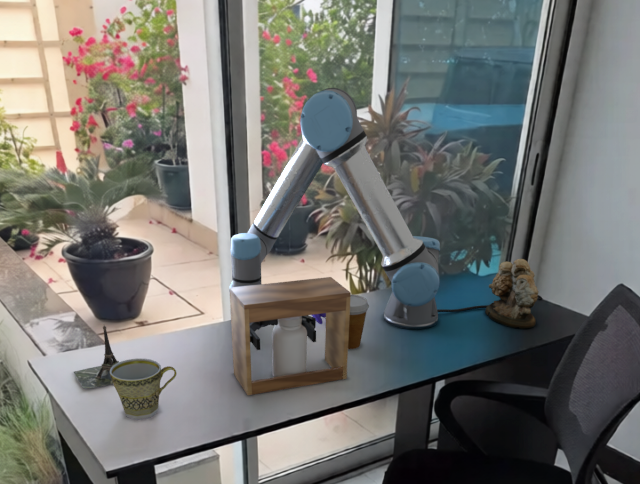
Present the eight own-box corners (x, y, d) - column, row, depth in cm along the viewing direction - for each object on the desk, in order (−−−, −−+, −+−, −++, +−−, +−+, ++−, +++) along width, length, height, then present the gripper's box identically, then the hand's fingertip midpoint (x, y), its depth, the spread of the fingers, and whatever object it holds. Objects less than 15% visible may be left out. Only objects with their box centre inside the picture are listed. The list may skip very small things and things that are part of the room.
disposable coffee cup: (347, 334, 175) (349, 291, 169) (373, 345, 170) (377, 301, 163) (322, 343, 170) (323, 299, 163) (348, 355, 164) (350, 310, 158)
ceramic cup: (120, 427, 131) (113, 383, 126) (113, 404, 139) (106, 362, 134) (184, 416, 136) (180, 373, 130) (174, 395, 143) (170, 353, 138)
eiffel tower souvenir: (138, 360, 157) (131, 307, 150) (151, 377, 150) (144, 323, 143) (73, 373, 151) (63, 318, 144) (84, 391, 143) (73, 335, 136)
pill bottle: (301, 385, 149) (302, 323, 142) (268, 381, 151) (266, 319, 143) (310, 370, 156) (311, 310, 148) (277, 366, 157) (276, 307, 149)
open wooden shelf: (233, 374, 153) (229, 287, 142) (328, 359, 162) (330, 276, 150) (247, 395, 144) (244, 305, 133) (346, 378, 153) (350, 292, 142)
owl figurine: (472, 310, 194) (481, 253, 185) (502, 304, 199) (512, 248, 190) (514, 332, 181) (526, 271, 172) (545, 325, 186) (558, 266, 177)
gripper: (304, 316, 173) (336, 348, 156) (211, 328, 164) (234, 363, 147) (304, 288, 169) (337, 318, 152) (209, 299, 160) (233, 332, 143)
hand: (287, 340), depth 150 cm, fingers open, 13 cm apart
